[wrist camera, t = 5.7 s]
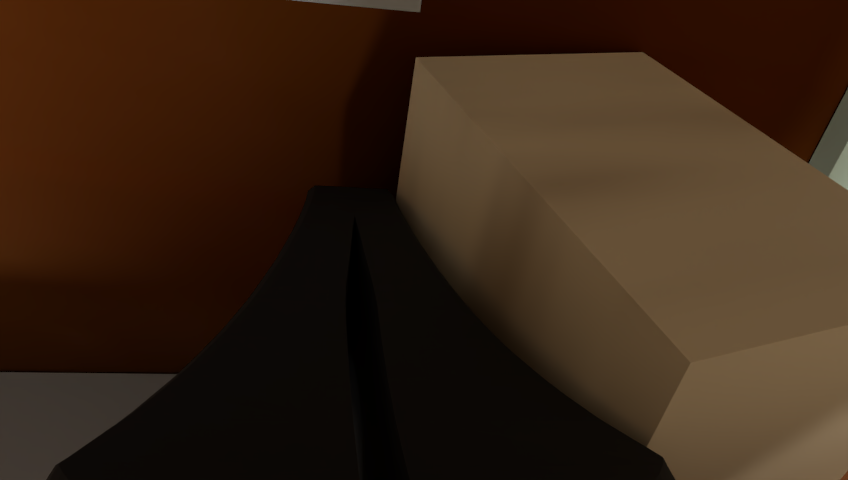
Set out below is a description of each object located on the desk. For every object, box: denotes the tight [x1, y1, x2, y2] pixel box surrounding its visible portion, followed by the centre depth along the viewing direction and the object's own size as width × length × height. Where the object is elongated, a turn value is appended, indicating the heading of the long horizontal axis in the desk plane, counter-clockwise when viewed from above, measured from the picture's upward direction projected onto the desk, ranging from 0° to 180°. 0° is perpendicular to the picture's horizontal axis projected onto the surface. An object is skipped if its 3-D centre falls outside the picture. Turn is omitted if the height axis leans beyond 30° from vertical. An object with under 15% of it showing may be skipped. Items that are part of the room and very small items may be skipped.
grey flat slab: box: [0, 0, 422, 480], centre depth 11 cm, size 11×10×3 cm
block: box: [396, 52, 848, 480], centre depth 11 cm, size 7×4×6 cm, turn 172°
